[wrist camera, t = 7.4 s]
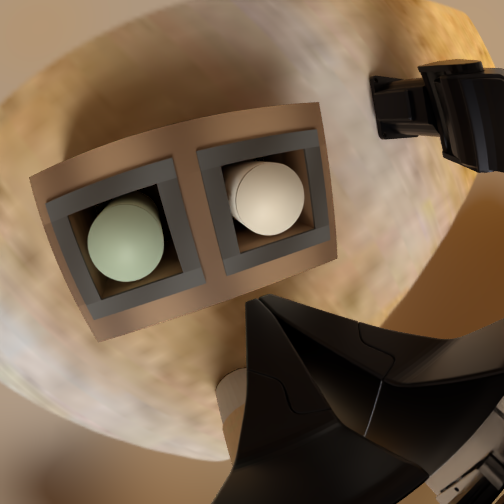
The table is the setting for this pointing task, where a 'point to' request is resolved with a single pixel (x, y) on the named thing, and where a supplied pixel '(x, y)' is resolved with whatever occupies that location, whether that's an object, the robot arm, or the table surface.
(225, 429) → the coffee cup
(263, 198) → the cream peg
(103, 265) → the sage peg
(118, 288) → the walnut block
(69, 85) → the table surface
